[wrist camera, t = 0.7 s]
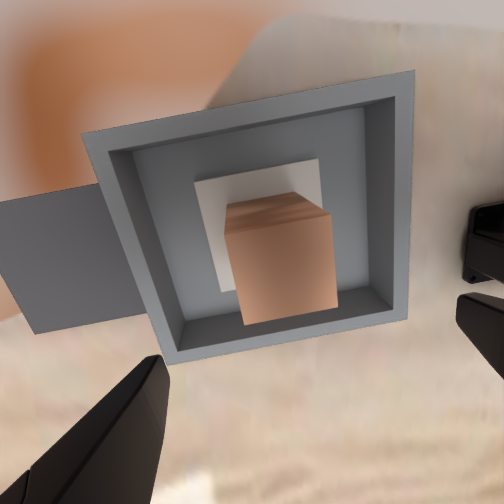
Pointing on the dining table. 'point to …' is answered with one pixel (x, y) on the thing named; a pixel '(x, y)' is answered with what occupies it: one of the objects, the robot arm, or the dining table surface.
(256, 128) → the crate
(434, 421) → the dining table surface
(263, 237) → the block
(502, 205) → the robot arm
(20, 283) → the mat
